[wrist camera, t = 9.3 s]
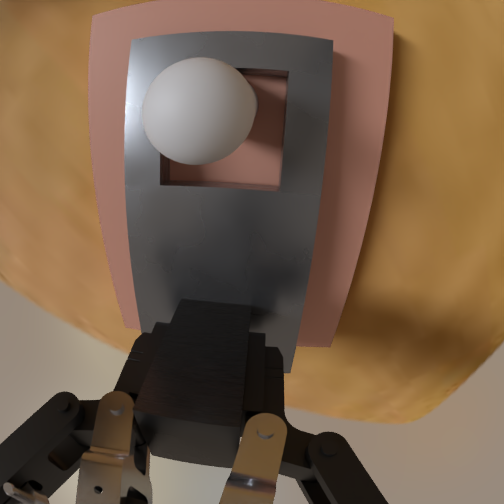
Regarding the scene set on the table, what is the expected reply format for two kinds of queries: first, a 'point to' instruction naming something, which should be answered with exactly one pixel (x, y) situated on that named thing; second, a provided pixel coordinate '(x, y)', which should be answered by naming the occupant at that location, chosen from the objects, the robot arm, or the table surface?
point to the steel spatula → (221, 244)
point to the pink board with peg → (244, 127)
